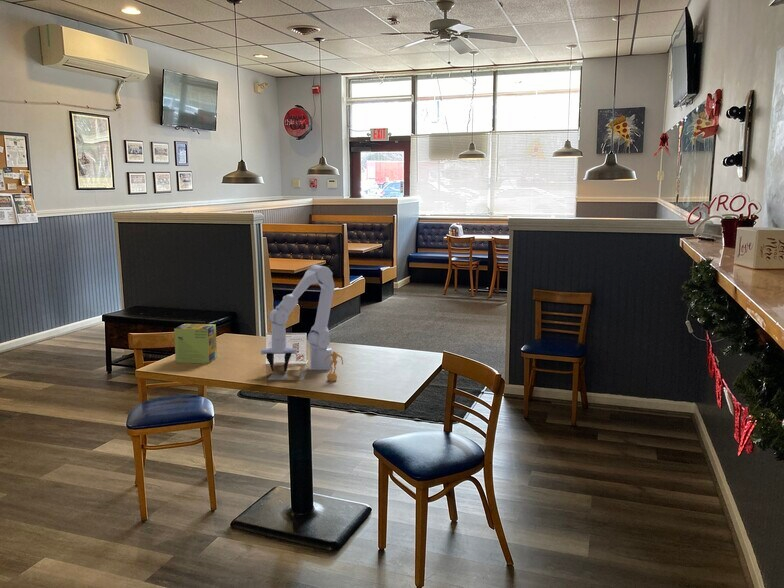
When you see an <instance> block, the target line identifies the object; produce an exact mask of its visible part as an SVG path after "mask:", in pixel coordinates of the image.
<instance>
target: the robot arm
mask: <svg viewBox="0 0 784 588" xmlns="http://www.w3.org/2000/svg"><path fill="white" fill-rule="evenodd" d="M333 274H334V273H333V272H332V270H331V269H330V268H329V267H328V266H326V265H325V266H324V265H319V264H316V263H315V264H312V265H311V266H309V267H308V269H307V270H306V271H305V273H304V275H303V277H302V278H301V279H300V281H299V282H298V284H297V285H296V287H295V288H294V289H293V291H292V293H291V292H290V293H289V294H286V295H284V296H283V297H282V300H281V301H280V303H279V304H278V305H276V306H275V308H274V309H272V310H271V311H270V312H269V315H268V320H269V321H270V323H271V324H270V326H271V327H270V330H271V347H268V348H261V349H260V355H266V356H265V357H266V359H267V361H268V363H269V365H270V368H271V372H272V373H273V364H274V363H275V361H274V359H275V357H274V355H283V354H284V362H285V371H287V368H288V367H289V362H290V358H291V356H292V354H293V355H297V354H298V348H293V347H287V338H286V336H287V333H286V331H287V330H286V323H287V322H288V321H289V320H288V319H289V315H290V314H291V313H292V312H293V310H294V309H295V308H296V307H297V305H298V304H299V298H300V297H301V296H302V295H303V293H304V292H306V290H307V289H308V288H309V287H310V286H311V285H315V284H317V285H318V286H319V287H320V294H319V299H318V305H317V309H316V316H315V319H314V320H315V321H314V324H313V325H312V326H311V328H310V331H309V333H308V334H307V342H308V343H309V346H310V347H309V348H310V350H309V352H310V356H309V358H310V360H309V361H310V363H309V364H310V366H309V367H308V370H314V371H315V370H321V371H322V370H327V371H328V370H330V371H331V367H330V363H331V360H332V361H333V359H332V356H329V357H328V358H327V356H328V355H330V354H332V353H333V348H332V347H329V345H330V343H331V338H330V330H329V327H328V325H329V319H330V315H331V314H330V313H331V308H332V303H333V298H334V293H335V286H336V285H335V282H334V278H333ZM326 358H327V360H325V359H326ZM324 361H325V363H324Z"/></svg>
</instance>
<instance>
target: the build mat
mask: <svg viewBox="0 0 784 588" xmlns="http://www.w3.org/2000/svg"><path fill="white" fill-rule="evenodd" d="M307 373H308V371H307V370H306V371H304V370H301V377H300V379H299V380H298V381H304V379H305V377H306V375H307ZM267 381H288V380H287V371H286V373H285V374H284V375H273V372H272V373H271V374H270V375H269V377H268V378H267Z"/></svg>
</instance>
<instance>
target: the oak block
mask: <svg viewBox="0 0 784 588" xmlns="http://www.w3.org/2000/svg"><path fill="white" fill-rule="evenodd" d="M301 371H302V366H296V365H295V366H292V365H291V366H289V365H288V366H287V380H286V381H300V380H299V379H300V377H301Z"/></svg>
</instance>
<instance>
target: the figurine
mask: <svg viewBox="0 0 784 588" xmlns="http://www.w3.org/2000/svg"><path fill="white" fill-rule="evenodd" d="M329 356H332V359H333V361H332V360H331V363H330V367H331V370H330V371H329V372H328V373H327V374H326V375H327V376H326V379H327V380H328V381H329V382H336V380H337V379H338V375H337V373H336V371H337V369H336V368H337V363H338V360H337V358H341V359H340V360H341V366H343V365H344V360H343V357H342V355H340V354H339V353H338V352H337V351H333V350H332V354H330V355H328V356H327V358H328V357H329ZM327 358H326V359H325V360H327ZM324 363H325V361H324ZM333 368H334V369H333Z"/></svg>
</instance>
